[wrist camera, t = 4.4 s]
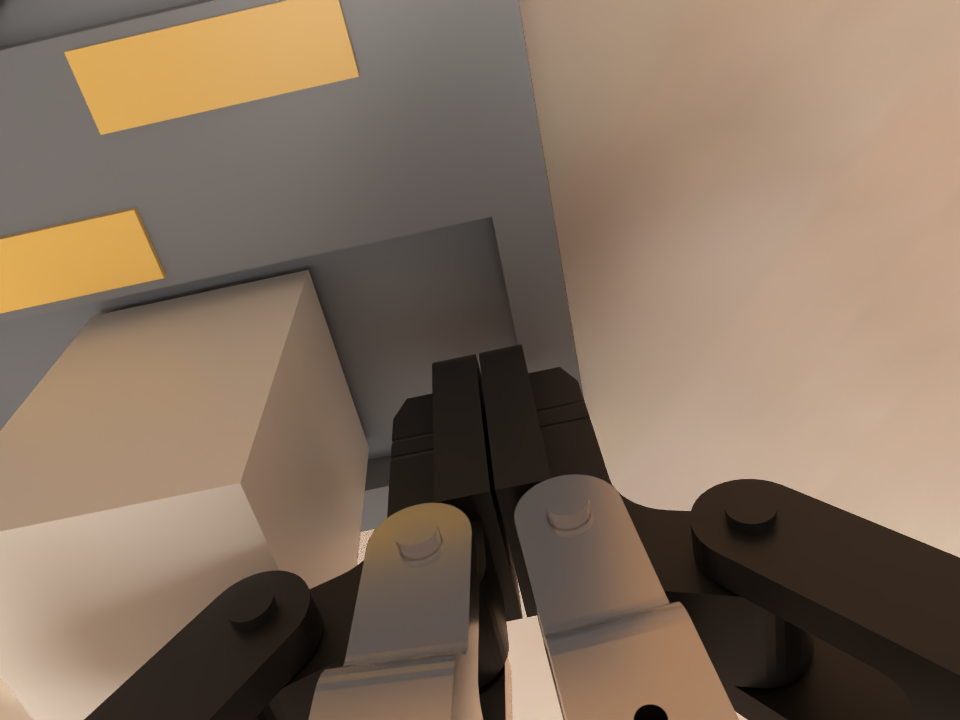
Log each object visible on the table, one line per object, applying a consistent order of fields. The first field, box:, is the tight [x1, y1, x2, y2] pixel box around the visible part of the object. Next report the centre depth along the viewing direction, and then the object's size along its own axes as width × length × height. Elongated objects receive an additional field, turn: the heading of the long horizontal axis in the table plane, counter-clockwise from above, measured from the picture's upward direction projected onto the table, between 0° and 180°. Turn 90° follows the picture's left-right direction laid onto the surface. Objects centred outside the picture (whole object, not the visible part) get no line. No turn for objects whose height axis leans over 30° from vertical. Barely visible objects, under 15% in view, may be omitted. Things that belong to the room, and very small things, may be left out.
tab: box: [0, 270, 369, 720], centre depth 13 cm, size 4×4×6 cm
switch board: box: [0, 0, 583, 532], centre depth 13 cm, size 13×16×2 cm
